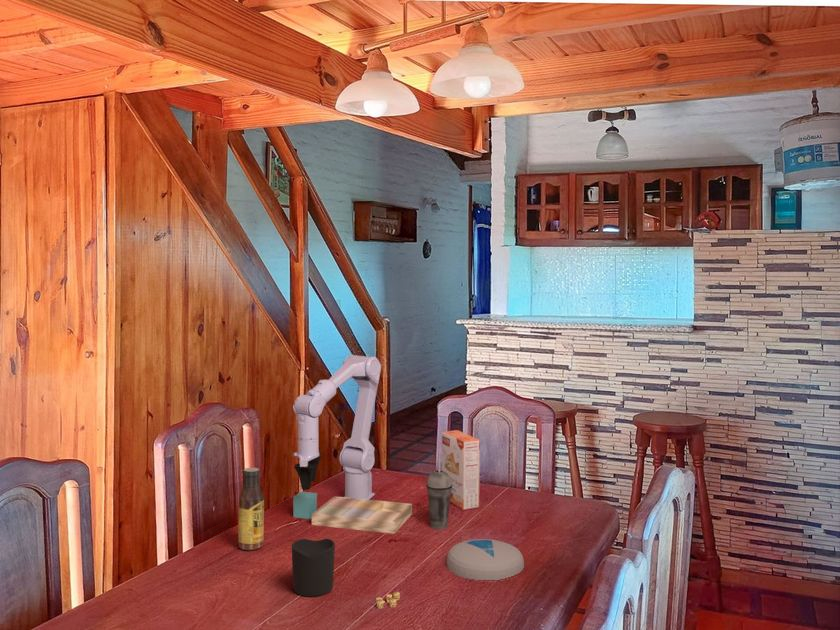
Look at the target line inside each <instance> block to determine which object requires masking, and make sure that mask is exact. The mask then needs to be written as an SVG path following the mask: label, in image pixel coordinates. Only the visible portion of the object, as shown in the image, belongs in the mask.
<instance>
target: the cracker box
mask: <svg viewBox="0 0 840 630" xmlns="http://www.w3.org/2000/svg"><path fill="white" fill-rule="evenodd" d="M441 434H442V436H441V438H442V440H441V443H442V444H441V447H442V448H441V455H442V456H441V459H442V460H441V471H444V472H446V473H447V474H448V475H449V476H450V478H451V481H452V486H453V487H452V491H451V494H450V503H451V504H453V505H455V507H457V508H459V509H461V510H462V511H466V510H468V511H469V510H473V509H479V508H480V463H481V462H480V461H481V459H480V458H481V457H480V456H481V452H480V451H481V450H480V449H481V443H480V441H481V440H480V439H478V438H476V437H473V436H472V435H470V434H468V433H465V432H463V431H462V430H459V429H457V430H456V429H454V430H445V431H442V432H441Z"/></svg>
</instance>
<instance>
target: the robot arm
mask: <svg viewBox="0 0 840 630" xmlns="http://www.w3.org/2000/svg"><path fill="white" fill-rule="evenodd" d="M381 370H382V365H381V362H380V361H379V359H378V358H377V356H366V355H355V354H350V355H348V356H347V357H346V358H344V359H343V362H342V365H341V366H340V367H339V368H338V369H337V370H336V371H335V373H333V374H332V376H330V377H329V379H320V380H319V381H318V383H317V384H316V385H315V386H314V387H313V388H311V389H309V390H308V391H307V392H306V394H300V395H298V397H297V398H295V400H294V404H293V405H292V409H293V412H294V413H295V419H296V421H297V451H295V452H293V456H294V457H297V458H298V460H299V463H295V465H294V469H295V471H296V473H297V475H298V478H299V483H300V487H301V490H302V491H303V490H305V491H309V490H310V489H311V486H312V482H315V481H316V478H317V477H316V476H317V471H318V467H319V464H320V462H321V459H322V455H321V454H320V452H319V451H320V450H319V447H320V446H319V416H320V415H321V414H322V413H323V410H324V407H325V405H326V404H327V403H328V402H329V401H330V400H331V399H332V398H334V397H335V396H336V394H337V389H338V388H339V387H341V386H342V385H344V384H345V383H346V382H348V380H349V379H352V380H353V381H355V382H356V383H357V385H358V387H359V389H358V391H359V392H358V396H357V401H356V407H355V408H356V409H355V412H354V413H355V414H354V419H353V425H352V430H351V437H350V438H348V439H347V440H345V442H344V443H343V447H342V448H341V451H340V454H339V457H338V458H339V463H340V465H341V467H342V468H343V469H342V470H343V471H344V473H345V474H344V496H343V497H346V498H356V499H366V500H371V499H372V498H373V497H374V496H375V494H376V493H375V492H372V491H373V488H372V487H373V474H372V472H371V470H372V468H373V466H374V465H375V459H376V458H375V450H376V449H375V447H374V446H373V444H372V442H371V441H370V440H369V439H370V433H371V427H372V420H373V416H374V409H375V403H376V397H377V392H378V387H379V381H380V378H381V377H380V376H381Z"/></svg>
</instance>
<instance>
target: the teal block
mask: <svg viewBox="0 0 840 630" xmlns="http://www.w3.org/2000/svg"><path fill="white" fill-rule="evenodd" d="M292 500H293V502H292V503H293V504H292V505H293V506H292V507H293V510H292V511H293V516H292V517H293V518H297V519H306V520H311V519H312V513H314V512H315V511H316V510H318V504H317V503H318V493H317V492H307V491H299V492H297V494H295V495H294V496H293V499H292Z"/></svg>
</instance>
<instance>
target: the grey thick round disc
mask: <svg viewBox="0 0 840 630" xmlns="http://www.w3.org/2000/svg"><path fill="white" fill-rule="evenodd" d="M446 567H447V569H448V571H450V573H452V574H454V575H456V576H458V577H461V578H463V577H464V578H463V579H467V578H468V580H471V579H475V580H474V581H477V580H500V579H505V578H508V577H511V576H514V575H516V574H518V573H520V572H521V571H522V570H523V568H524V569H525V560H524V556H523V554H522V551H520V550H519V548H517V547H516V546H514V545H512V544H511V543H510V544H509V543H507V542H504V541H500V540H497V539H489V538H479V539H478V538H475V539H468V540H465V541H461V542H458V543H456V544H454V545H453V546H452V547H451V549H450V550H448V553H447V555H446ZM523 571H524V570H523Z"/></svg>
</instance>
